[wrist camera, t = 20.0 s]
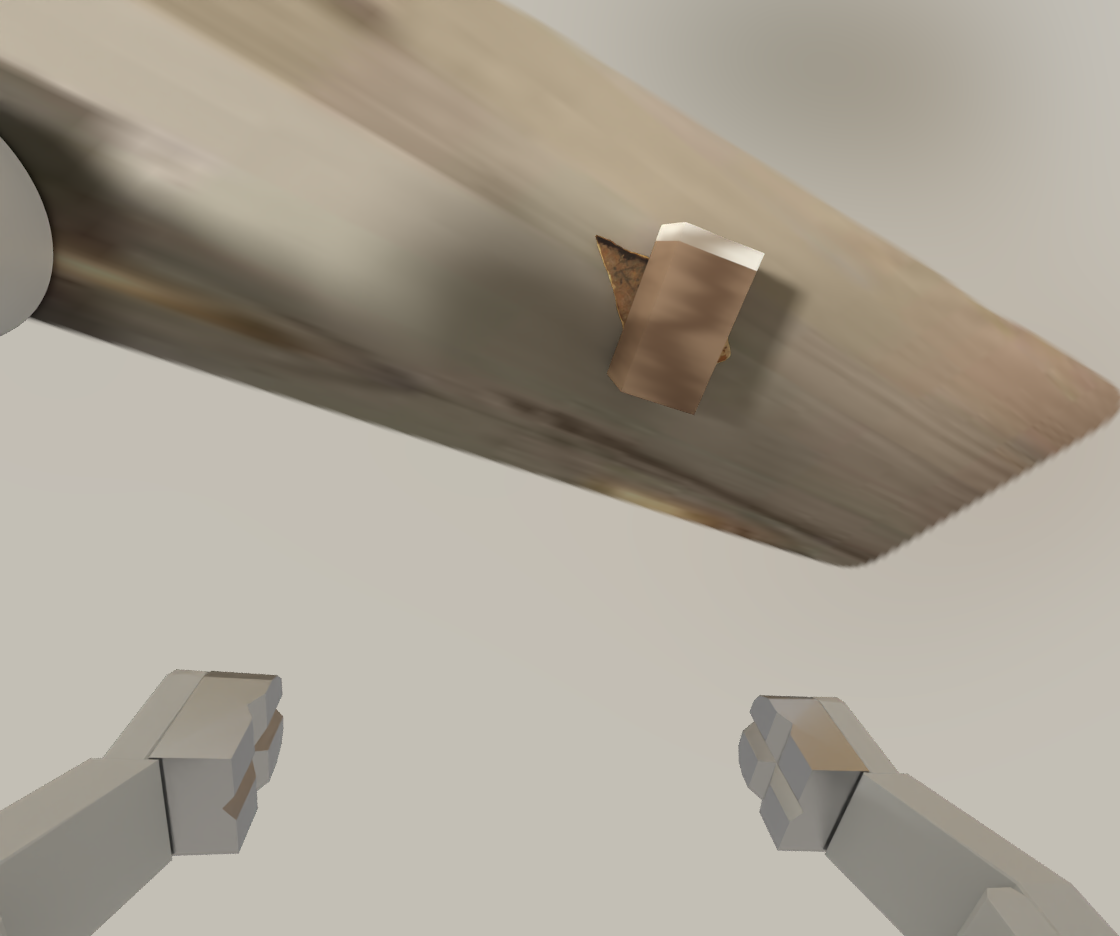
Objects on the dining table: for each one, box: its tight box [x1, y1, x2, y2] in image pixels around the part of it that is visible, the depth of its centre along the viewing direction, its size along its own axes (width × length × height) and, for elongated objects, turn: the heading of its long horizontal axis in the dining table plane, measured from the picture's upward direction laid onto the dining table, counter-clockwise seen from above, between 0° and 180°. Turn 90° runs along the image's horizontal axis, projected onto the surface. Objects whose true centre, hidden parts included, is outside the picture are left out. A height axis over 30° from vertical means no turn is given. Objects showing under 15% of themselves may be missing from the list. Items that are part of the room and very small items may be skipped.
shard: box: [595, 235, 731, 363], centre depth 38 cm, size 11×8×2 cm
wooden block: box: [607, 222, 765, 415], centre depth 35 cm, size 5×5×10 cm
